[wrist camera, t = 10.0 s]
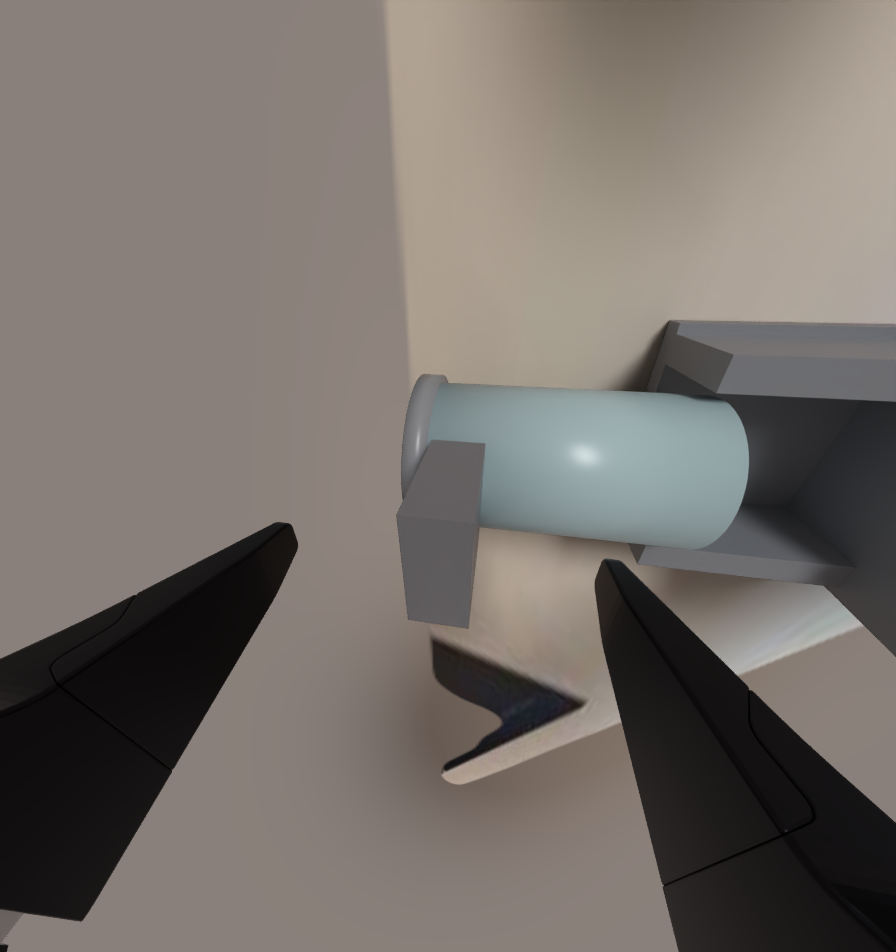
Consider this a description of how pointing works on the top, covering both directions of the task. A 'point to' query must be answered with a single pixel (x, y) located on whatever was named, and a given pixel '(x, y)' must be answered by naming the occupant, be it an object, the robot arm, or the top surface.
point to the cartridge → (556, 476)
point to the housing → (800, 455)
